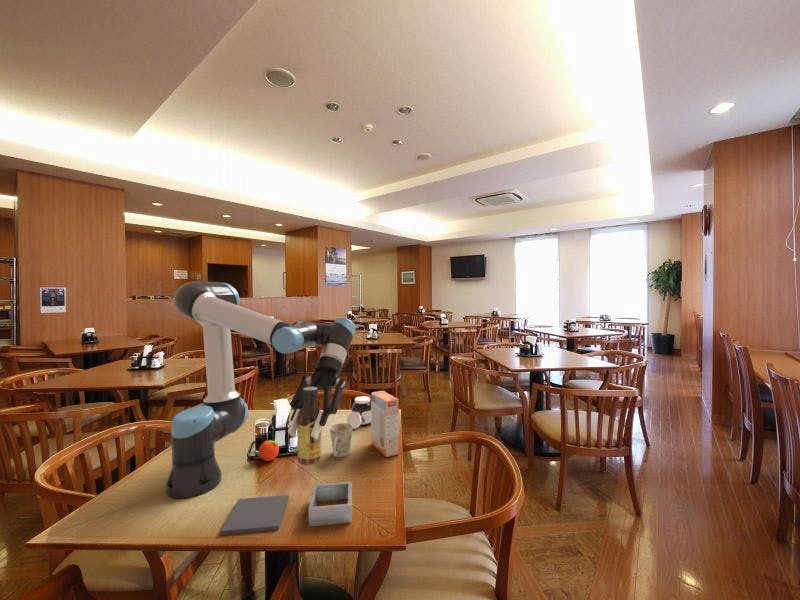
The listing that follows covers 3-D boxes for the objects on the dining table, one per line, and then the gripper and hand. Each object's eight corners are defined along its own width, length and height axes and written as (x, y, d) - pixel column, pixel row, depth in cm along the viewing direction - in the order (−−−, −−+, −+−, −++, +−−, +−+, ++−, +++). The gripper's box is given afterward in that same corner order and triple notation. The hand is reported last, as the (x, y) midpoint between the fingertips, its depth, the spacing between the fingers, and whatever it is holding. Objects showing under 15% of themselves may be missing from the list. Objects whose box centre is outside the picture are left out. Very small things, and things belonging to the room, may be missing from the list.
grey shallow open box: (308, 526, 91) (308, 509, 91) (314, 499, 103) (313, 484, 103) (351, 522, 93) (351, 505, 93) (352, 496, 105) (351, 481, 105)
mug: (355, 449, 137) (354, 423, 137) (346, 464, 124) (346, 436, 124) (333, 448, 138) (333, 422, 137) (323, 464, 125) (323, 435, 125)
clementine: (285, 455, 132) (284, 436, 132) (277, 464, 125) (276, 444, 125) (264, 455, 132) (263, 436, 132) (255, 464, 126) (254, 444, 125)
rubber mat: (220, 535, 89) (220, 531, 89) (238, 502, 103) (238, 499, 103) (278, 529, 91) (278, 525, 90) (288, 498, 104) (288, 494, 104)
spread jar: (373, 420, 168) (373, 395, 168) (373, 429, 156) (373, 403, 156) (348, 421, 167) (347, 396, 167) (346, 430, 156) (345, 404, 156)
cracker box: (400, 454, 131) (399, 398, 131) (385, 458, 129) (384, 401, 128) (384, 441, 144) (384, 389, 144) (371, 444, 141) (370, 391, 141)
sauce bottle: (312, 468, 93) (312, 393, 92) (292, 464, 95) (292, 390, 95) (326, 457, 99) (326, 386, 99) (307, 453, 101) (306, 384, 101)
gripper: (363, 370, 109) (340, 445, 93) (307, 366, 114) (277, 437, 99) (356, 356, 103) (330, 433, 88) (298, 353, 109) (264, 425, 93)
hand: (302, 435), depth 93 cm, fingers closed on sauce bottle, 6 cm apart
